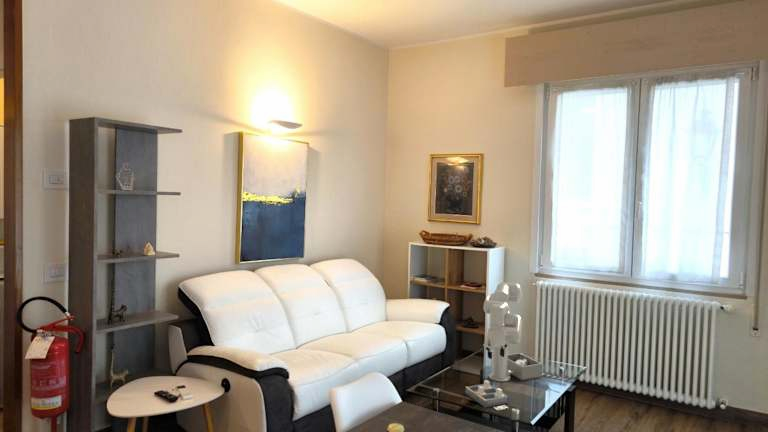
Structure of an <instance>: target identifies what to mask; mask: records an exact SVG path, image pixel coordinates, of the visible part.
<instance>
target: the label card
mask: <svg viewBox="0 0 768 432" xmlns="http://www.w3.org/2000/svg"><path fill="white" fill-rule="evenodd" d="M506 408H507V409H509V407H508V406H507V405H505V404H501V405H496V406H493V409H495V410H496V411H503V410H506Z"/></svg>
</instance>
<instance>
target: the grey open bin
mask: <svg viewBox="0 0 768 432" xmlns="http://www.w3.org/2000/svg"><path fill="white" fill-rule="evenodd" d="M521 353H522V352H517V353H508V370H510V371H512V370H514V374H511V375H512V376H514V377H516V378H518V379H519V380H521V381H525V380H530V379H535V378H536V379H537V378H542V377H543V363H542V362H540V361H538V360H536V359H533V358H532V357H529V356H528V355H525V354H524V353H523V354H522V356H523V357H524V358H527V360H528V366H521V365H519V364H517V363H515V362H516V361H517V360H518V358H519V357H521V356H520V354H521Z"/></svg>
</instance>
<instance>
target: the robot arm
mask: <svg viewBox="0 0 768 432" xmlns="http://www.w3.org/2000/svg"><path fill="white" fill-rule="evenodd" d="M522 300H523V292H522V288H521V285H520V284H518V283H516V282H515V283H514V282H505V281H504V282H500V283H498V284H497V286H496V289H495V290H494V292H493V293H491V294H489V295H487V296H486V298H485V300H484V301H483V311H484V313H486V314H488V315H489V328H488V329H487V333H486V334H487V335H486V341H485V342H484V343H483V345H482V346H483V347H484V349H485V350H486V351H487V358H489V359H490V360H491V373H489V375H488V377H489V379H490V380H492V381H495V382H508V381H510V380H511V375H512V374H514V370H512V371H510V370H508V355H509V349H508V345H509V344H512V345H517V344H520V343H521V338H522V328H523V327H522V326H523V320H522V317H521V316H520V315H519V314H515V313H512V310H511V308H510V306H509V304H508V303H517V304H518V303H521V302H522Z"/></svg>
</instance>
